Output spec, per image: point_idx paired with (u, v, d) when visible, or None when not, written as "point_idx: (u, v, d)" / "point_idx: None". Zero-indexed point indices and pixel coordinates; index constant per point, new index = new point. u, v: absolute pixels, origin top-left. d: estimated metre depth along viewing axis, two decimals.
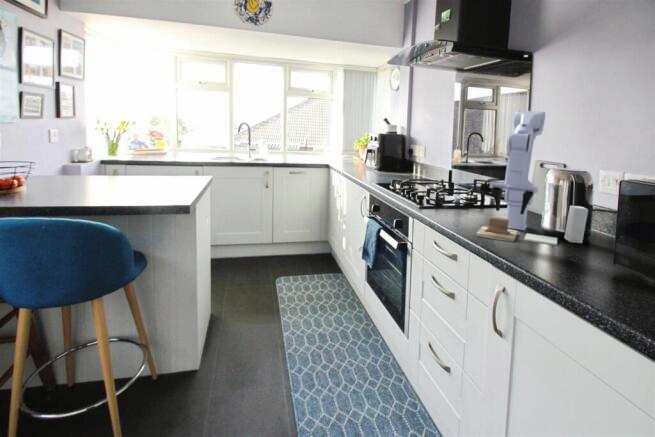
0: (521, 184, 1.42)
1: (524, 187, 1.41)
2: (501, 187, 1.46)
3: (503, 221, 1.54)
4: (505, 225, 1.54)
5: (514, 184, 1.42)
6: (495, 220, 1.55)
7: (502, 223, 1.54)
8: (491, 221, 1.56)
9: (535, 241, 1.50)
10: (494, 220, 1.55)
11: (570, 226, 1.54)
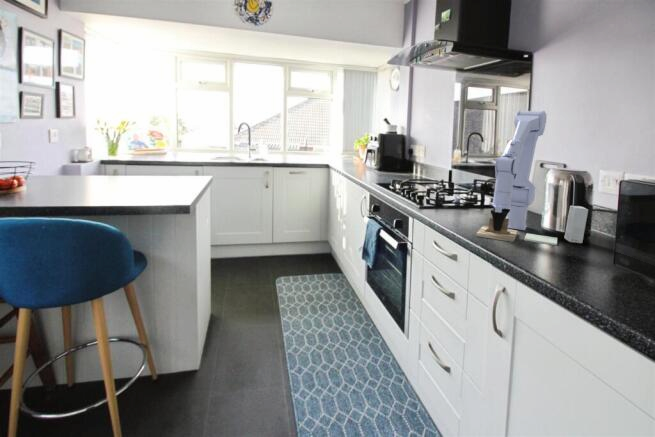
0: (496, 203, 1.53)
1: (494, 205, 1.53)
2: None
3: None
4: (505, 225, 1.54)
5: (493, 202, 1.56)
6: None
7: None
8: (491, 221, 1.56)
9: (535, 241, 1.50)
10: None
11: (570, 226, 1.54)
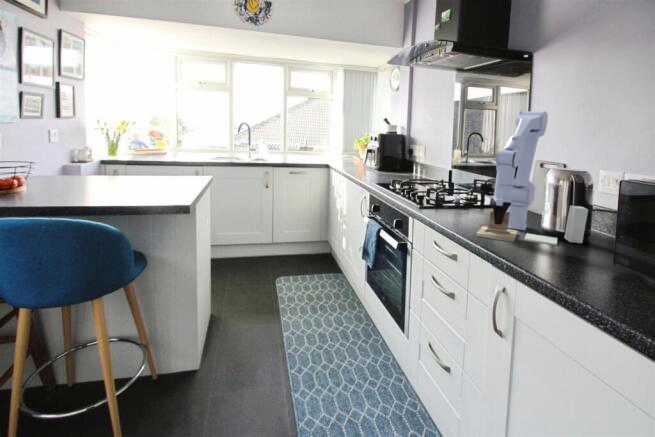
0: (497, 196, 1.53)
1: (495, 198, 1.52)
2: None
3: None
4: (506, 218, 1.53)
5: None
6: None
7: None
8: (492, 214, 1.55)
9: (535, 241, 1.50)
10: None
11: (570, 226, 1.54)
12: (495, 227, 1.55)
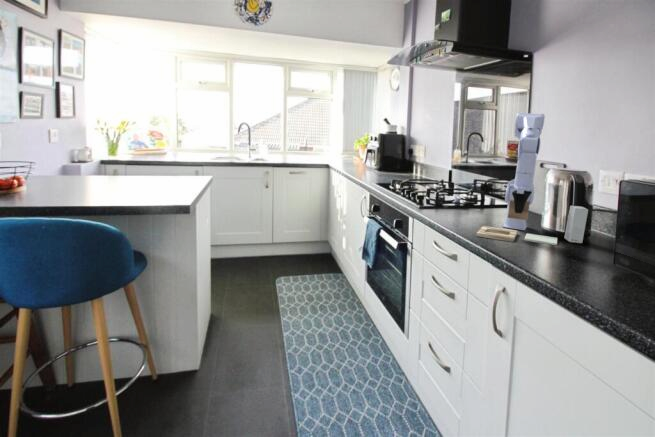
0: (518, 184, 1.50)
1: (515, 187, 1.50)
2: None
3: None
4: (526, 207, 1.51)
5: (514, 184, 1.53)
6: None
7: None
8: (512, 203, 1.53)
9: (535, 241, 1.50)
10: None
11: (570, 226, 1.54)
12: (515, 216, 1.53)
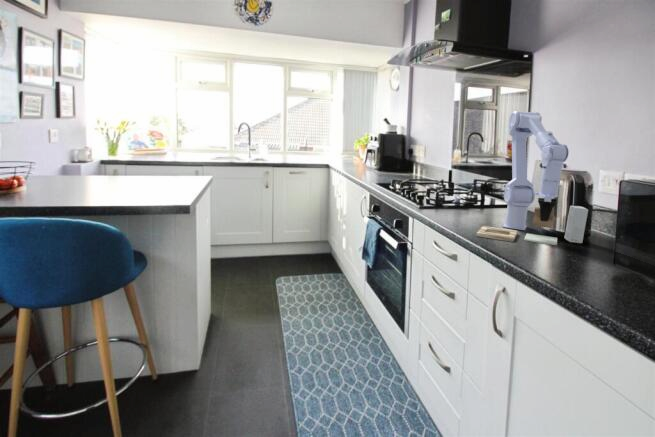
0: (544, 192, 1.48)
1: (541, 195, 1.48)
2: None
3: None
4: (551, 215, 1.49)
5: (539, 191, 1.51)
6: None
7: None
8: (536, 211, 1.51)
9: (535, 241, 1.50)
10: None
11: (570, 226, 1.54)
12: (540, 224, 1.51)
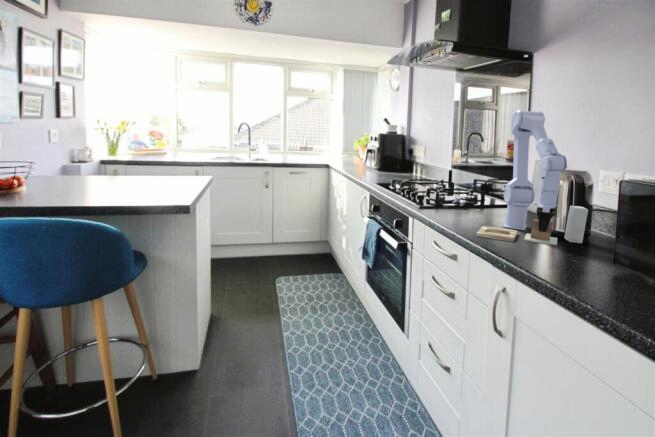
0: (542, 202, 1.49)
1: (540, 205, 1.49)
2: None
3: None
4: (549, 228, 1.50)
5: None
6: None
7: None
8: (534, 224, 1.52)
9: (535, 241, 1.50)
10: (538, 223, 1.51)
11: (570, 226, 1.54)
12: (538, 236, 1.52)
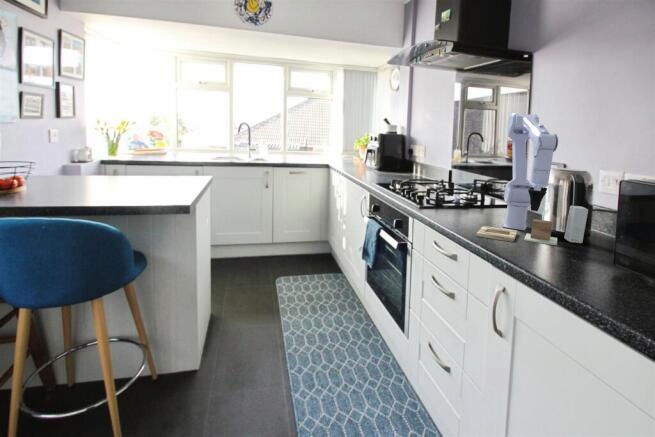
0: (534, 181, 1.50)
1: (532, 184, 1.49)
2: None
3: (547, 224, 1.50)
4: (549, 228, 1.50)
5: (530, 181, 1.52)
6: (539, 223, 1.51)
7: (546, 226, 1.50)
8: (534, 224, 1.52)
9: (535, 241, 1.50)
10: (538, 223, 1.51)
11: (570, 226, 1.54)
12: (538, 236, 1.52)
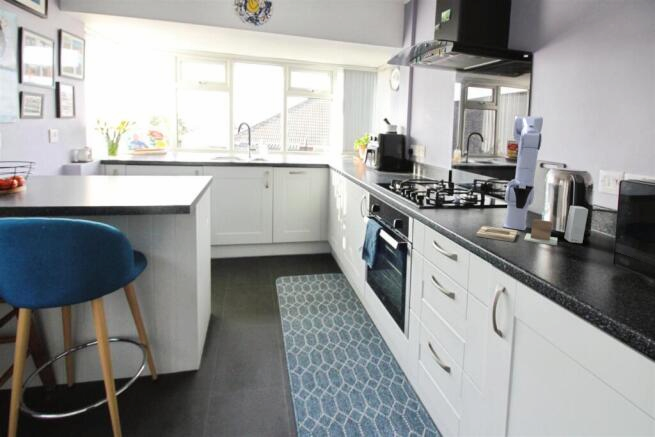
0: (520, 180, 1.52)
1: (517, 182, 1.52)
2: None
3: (547, 224, 1.50)
4: (549, 228, 1.50)
5: (515, 179, 1.54)
6: (539, 223, 1.51)
7: (546, 226, 1.50)
8: (534, 224, 1.52)
9: (535, 241, 1.50)
10: (538, 223, 1.51)
11: (570, 226, 1.54)
12: (538, 236, 1.52)
